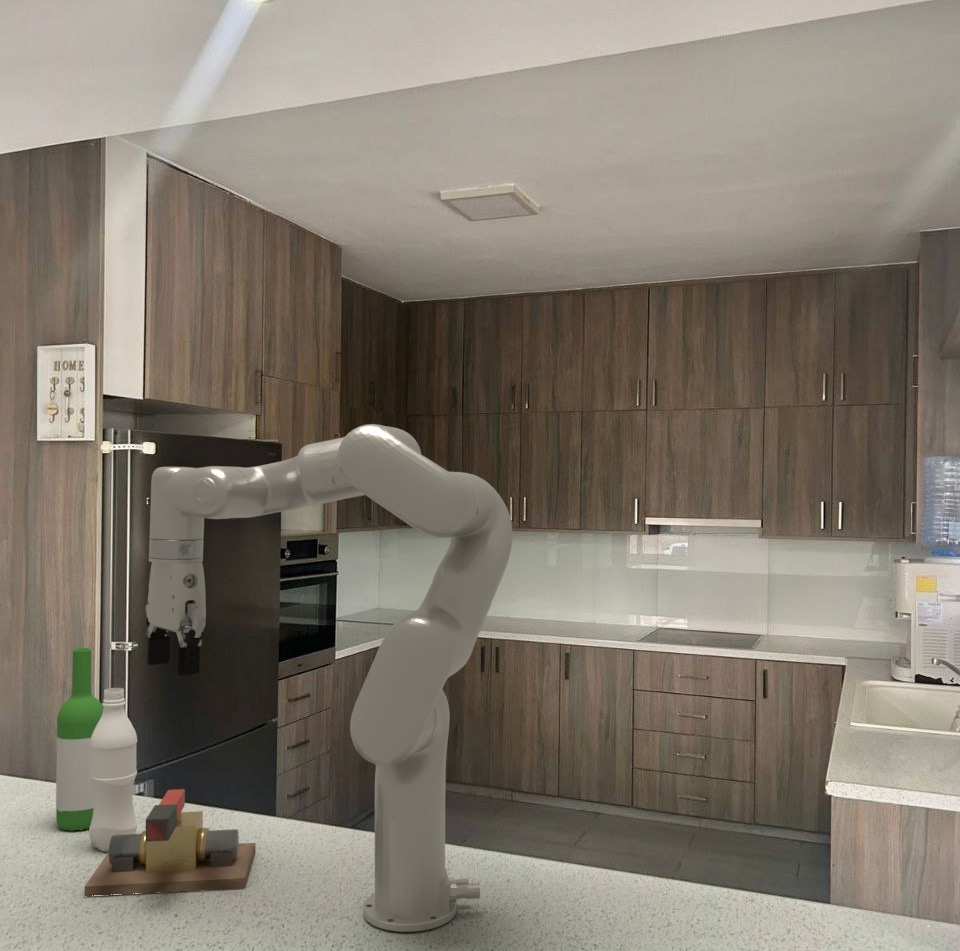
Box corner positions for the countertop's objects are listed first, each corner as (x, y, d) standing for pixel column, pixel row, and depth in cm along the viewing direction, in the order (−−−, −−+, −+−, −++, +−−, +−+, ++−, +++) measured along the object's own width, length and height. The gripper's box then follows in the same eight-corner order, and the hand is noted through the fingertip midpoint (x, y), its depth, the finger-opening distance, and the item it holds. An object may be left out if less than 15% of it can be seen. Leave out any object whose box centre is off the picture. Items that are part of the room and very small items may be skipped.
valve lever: (186, 814, 143) (186, 787, 143) (168, 848, 129) (168, 818, 129) (166, 815, 143) (166, 788, 143) (145, 849, 129) (145, 819, 129)
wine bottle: (89, 834, 159) (90, 653, 159) (46, 831, 160) (47, 652, 161) (114, 818, 166) (115, 645, 167) (73, 816, 168) (74, 644, 168)
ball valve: (239, 852, 146) (239, 809, 146) (234, 868, 140) (234, 823, 140) (117, 858, 144) (117, 815, 144) (106, 875, 138) (106, 829, 138)
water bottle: (144, 838, 156) (145, 685, 157) (124, 854, 149) (124, 694, 150) (102, 837, 157) (103, 684, 158) (80, 853, 150) (81, 693, 151)
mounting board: (255, 852, 150) (255, 842, 150) (245, 888, 136) (245, 878, 136) (110, 859, 147) (110, 849, 147) (84, 897, 134) (84, 886, 134)
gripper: (228, 554, 135) (224, 675, 135) (174, 547, 148) (171, 657, 148) (178, 556, 130) (174, 682, 130) (126, 548, 143) (123, 662, 143)
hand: (172, 668), depth 139 cm, fingers open, 9 cm apart
